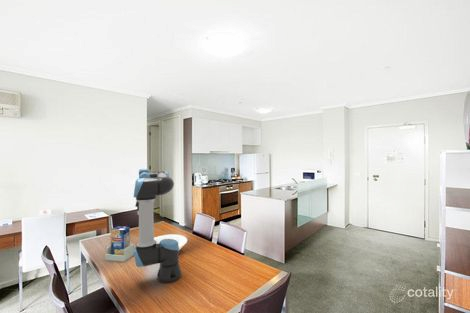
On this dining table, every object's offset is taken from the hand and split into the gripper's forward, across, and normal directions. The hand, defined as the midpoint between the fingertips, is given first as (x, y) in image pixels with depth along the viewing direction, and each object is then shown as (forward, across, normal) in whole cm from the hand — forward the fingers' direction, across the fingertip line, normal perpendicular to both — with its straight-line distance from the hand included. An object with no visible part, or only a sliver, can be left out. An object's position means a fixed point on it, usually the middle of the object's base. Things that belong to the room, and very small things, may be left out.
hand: (144, 212), depth 179 cm
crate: (+31, +16, -10) cm, 36 cm away
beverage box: (+30, +16, -10) cm, 36 cm away
